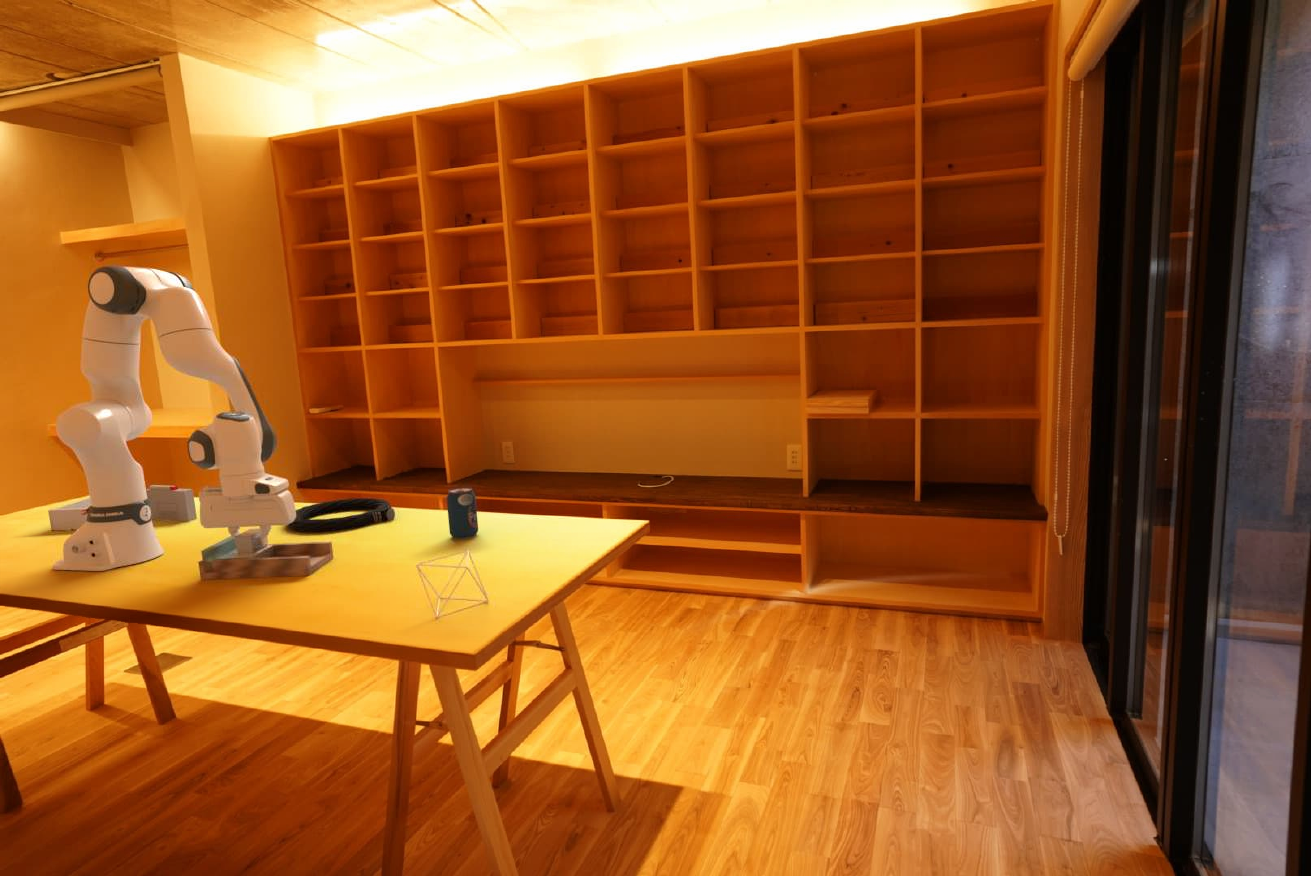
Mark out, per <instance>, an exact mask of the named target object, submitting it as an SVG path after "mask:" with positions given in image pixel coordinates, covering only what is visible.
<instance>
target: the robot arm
mask: <svg viewBox="0 0 1311 876" xmlns="http://www.w3.org/2000/svg"><path fill="white" fill-rule="evenodd" d="M87 291H88V296H89V299H90V300H89V302H88V306H87V308H86V311H85V316H84V322H83V328H82V340H81V341H82V342H81V355H80V356H81V357H80V371H81V373H82V376H84V377H85V378H86V379H87V381H88V384H89V387H90V391H91V396H92V397H91V398H92V399H91V400H90V401H84V402H80V403H77V404H75V405H73V406H71V407H69V408H67V409H66V410H64V411H63V412H61V413H60V414H59V416H58V417H57V419H56V421H55V432H56V435H57V437H58V439H59V440H60V441H61V442H62V443H63V444H64V445H65V446H66V447H68V448H70V449H71V450H72V452H73V453H74V454H75V456H76V458H77V459H78V461H79V463H80V465H81V467H82V469H83V472H84V474H85V477H86V478H85V479H86V483H87V487H88V494H89V498H90V499H91V506H90V507H88V509H85V510H82V511H85V512H84V513H82V514H81V515H85V514H88V515H87V519H86V521H87V522H86V523H85V524H83V525H82V526H81V527H80V528H79V529H78V530H75V531H74V532H73V533H72V534H71V535H69V536H68V537H67V538H66V539H65V541H64V543H63V547H62V548H63V549H62V556H63V558H61V559H59V560H57V561H56V562H55V563H53V564H52V570H53V571H55V570H59V571H60V570H61V571H83V572H84V571H87V572H89V571H91V572H94V571H95V572H102V571H103V572H104V571H109V570H112V569H115V568H116V569H117V568H118V567H124V566H131V565H134V564H139V563H142V562H147V561H150V560H152V559H155V558H157V557H158V558H159V556H160V557H161V556H162V555H163V554H164V553H165V550H164V549H163V548H162V545H161V544H160V541H159V539H158V536H157V534H156V531H155V528H154V527H155V526H154V523H153V519H152V510H151V504H150V499H149V498H148V497H147V493H146V488H147V487H146V482H145V475H144V469H143V466H142V465H141V464H140V463H139V462H138V461H136V460H135V459H134V457H133V456H132V453H131V451H130V449H129V447H128V445H127V442H128V441H132V440H135V439H137V438H139V437H140V436H141V435H143V434H144V433H145V432H146V431H147V430H148V429H149V428H150V427H151V424H152V423H153V413H152V411H151V409H150V406H149V405H148V404H147V403H146V402H145V400H144V395H143V392H142V387H141V381H140V359H141V357H140V355H141V354H140V353H141V340H142V339H141V338H142V337H141V335H142V333H141V331H142V325H143V323H144V322H145V321H146V320H147V319H150V320H151V321H152V323H153V326H154V329H155V334H156V337H157V341H158V345H159V348H160V352H161V354H162V357H163V358H164V360H165V362H166V363H167V364H168V365H169V366H170V367H171V368H172V369H174V370H176V371H177V372H180V373H181V374H184V375H186V376H190V377H193V378H194V377H195V378H198V379H202V380H206V381H209V382H212V383H214V384H216V385H218V386H220V387H221V388H222V389H223V390H224V391H225V392H226V394H227V396H228V398H229V400H230V402H231V404H232V407H233V409H234V410H233V411H231V410H230V411H224V412H221V413H217V414H216V415H214V417H213V421H212V422H211V423H210V424H208V425H206V426H204V427H202V428H199V429H196V430H194V431H193V432H192V433H191V435H190V436H189V438H188V440H187V442H186V443H187V453H188V457H189V459H190V461H191V463H193V464H194V465H195V466H197V467H198V468H200V469H202V470H217V469H219V473H218V476H219V483H220V485H216V486H215V485H214V486H204V487H203V489H201V490H200V491H199V492H198V500H199V520H200V521H199V523H200V525H201V527H203V528H204V529H219V528H220V529H221V528H222V529H223V528H227V529H228V531H227V532H228V533H229V535H230V536H232V537H233V538H234V539H235V536H237V535H239V534H241V533H240V531H239V530H241V528H246V527H259V529H260V530H261V531H262V530H263V532H262V534H261V536H260V537H258V538H257V544H258V545H266V544H269V543H268V542H269V541H268V535H269V534H270V531H271V529H272V526H288V524H290V523H292V522H293V521H294V520H295V518H296V510H297V509H296V506H295V501H294V497H293V495H292V493H291V492H290V491H289V490H288V488H289V486H290V483H289V480H288V479H287V478H283V477H281V476H280V477H279V476H277V475H273V474H269V473H266V472H265V467H264V465H263V464H264V463H265V462H267V461H268V460H269V459H270V458H271V457H272V456H273V455H274V453H275V451H276V450H277V446H278V436H277V434H276V432H275V430H274V428H273V427H272V425H271V423H270V422H269V421H268V419H267V417H266V416H265V413H264V412H263V410H262V407H261V405H260V403H259V402H258V399H257V397H256V395H255V392H254V391H253V389H252V385H250V382H249V379H248V378H247V376H246V373H245V371H244V369H243V368H242V366H241V363H239V361H238V360H237V359H236V357H235V356H233V355H231V354H229V353H228V352H227V351H225V349H224V348H223V346H222V345H221V344H220V342H219V341H218V339H217V337H216V335H215V331H214V328H213V325H212V322H211V320H210V316H209V314H208V311H207V309H206V307H205V305H204V303H203V301H202V298H201V297H200V295H199V294H198V292H196V291H195V290H194V287H193V285H192V283H191V282H190V280H189V279H188V278H186V277H184V276H183V275H180V274H179V273H175V272H172V271H164V270H160V269H156V268H151V267H144V266H143V267H137V266H136V267H135V266H122V265H117V264H116V265H113V264H112V265H105V266H101V267H98V268H96V269H94V271H93V272H92V273H91V275H90V276H89V278H88V283H87ZM82 511H81V512H82ZM235 543H236V540H235Z"/></svg>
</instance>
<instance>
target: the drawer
mask: <svg viewBox="0 0 1311 876" xmlns="http://www.w3.org/2000/svg"><path fill="white" fill-rule="evenodd" d="M267 545H273V548H274V555H275V556H273V557H272V558H248V559H223V560H216V559H217V558H219V557H221V556H222V555H224V554H226V553H228V552H230V551H232V550H234V549H236V548H237V547H236V543H235V539H234V538H233V537H232V536H231V535H230V536H228V537H226V538H224V539H223V540H220V541H218V542H216V543H214V544H212V545H210V546H208V547H206V548H203V549H202V550H201V551H200V553H201V558H202V560H199V561H198V562H197V563H198V568H199V575H200V576H199V577H200V581H201V580H203V581H204V580H223V579H224V580H226V579H229V580H231V579H253V578H255V579H256V578H275V577H276V578H277V577H279V578H281V577H301V576H302V577H303V576H304V577H305V576H307V577H308V576H311V575H312V574H314V573H315V572H316V571H318V570H319V569H320V568H322V567H323V566H325V564H328V562H330V561H331V560H333V559H334V552H333V543H332V541H312V542H311V541H310V542H290V543H289V542H288V543H286V542H283V543H267Z"/></svg>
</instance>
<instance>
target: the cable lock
mask: <svg viewBox="0 0 1311 876" xmlns="http://www.w3.org/2000/svg"><path fill="white" fill-rule="evenodd" d="M295 510H296V518H295V520H294V521H293V522H292V523H290V524H288V525H287V528H288V529H291V530H292V531H294V532H301V533H327V532H338V531H339V532H340V531H345V530H350V529H356V528H361V527H366V526H368V525H371V524H374V525H375V524H378V523H381V522H383V523H384V522H388V521H389V522H392V521H394V520H395V517H396V511H395V509H394V508H393V507H392V505H391V504H390V503H389V502H388V501H386V500H385V499H379V498H372V497H371V498H370V497H364V498H362V497H360V498H357V497H351V498H344V499H342V498H341V499H337V500H331V501H323V502H319V503H315V504H310V505H307V506H302V507H301V508H299V509H295ZM352 510H353V511H354V510H355V511H356V510H357V511H361V510H362V511H363V510H366V511H365V512H363V513H359V514H358V513H357V514H354V515H353V514H352V515H347V516H343V517H341V516H340V517H331V518H320V519H319V518H317V519H315V518H314V519H311V518H313V517H316V516H319V515H326V514H332V513H335V512H344V511H345V512H346V511H352ZM367 510H369V511H367Z"/></svg>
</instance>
